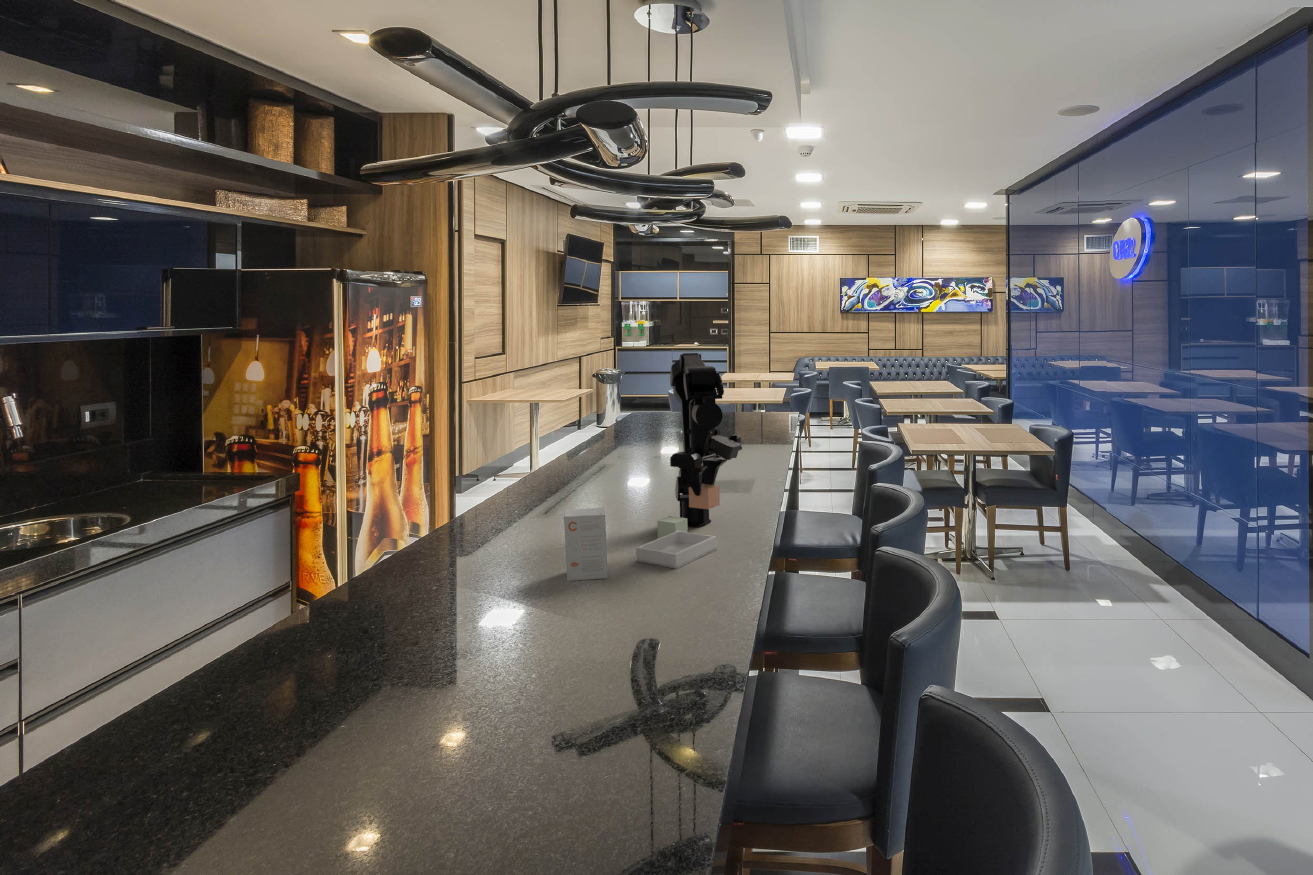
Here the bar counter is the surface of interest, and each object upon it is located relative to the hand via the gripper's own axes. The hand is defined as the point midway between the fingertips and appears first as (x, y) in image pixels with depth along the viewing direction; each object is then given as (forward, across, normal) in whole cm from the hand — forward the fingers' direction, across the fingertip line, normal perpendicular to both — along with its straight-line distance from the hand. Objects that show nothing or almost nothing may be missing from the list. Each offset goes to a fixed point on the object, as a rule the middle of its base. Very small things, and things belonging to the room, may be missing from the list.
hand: (703, 493), depth 183 cm
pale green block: (+11, 0, +9) cm, 14 cm away
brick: (+3, 0, 0) cm, 3 cm away
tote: (+11, -12, 0) cm, 16 cm away
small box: (+12, -32, +9) cm, 35 cm away
